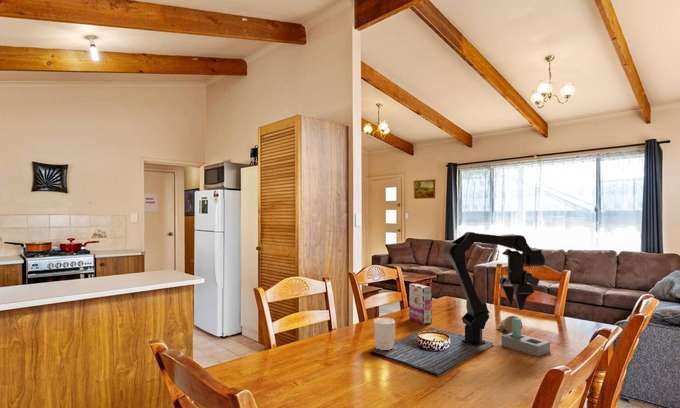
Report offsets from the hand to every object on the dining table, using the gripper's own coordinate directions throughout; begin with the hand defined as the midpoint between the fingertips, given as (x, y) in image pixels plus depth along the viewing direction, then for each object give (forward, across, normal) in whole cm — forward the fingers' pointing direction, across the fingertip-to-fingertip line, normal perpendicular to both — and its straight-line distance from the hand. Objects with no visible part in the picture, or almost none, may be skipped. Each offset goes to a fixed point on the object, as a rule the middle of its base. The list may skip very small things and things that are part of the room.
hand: (515, 306), depth 151 cm
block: (+13, -8, 0) cm, 16 cm away
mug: (+13, +12, -2) cm, 18 cm away
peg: (+13, -6, +2) cm, 14 cm away
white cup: (+14, -9, +52) cm, 54 cm away
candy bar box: (+14, +26, +32) cm, 44 cm away
